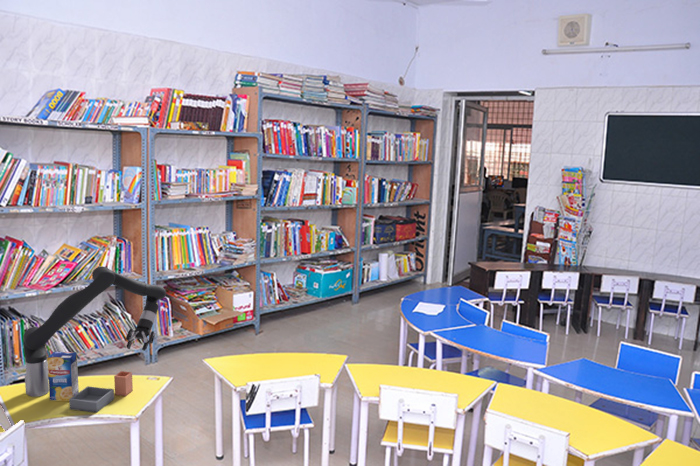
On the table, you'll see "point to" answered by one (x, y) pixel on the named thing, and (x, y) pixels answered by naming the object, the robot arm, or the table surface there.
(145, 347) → the robot arm
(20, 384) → the table surface
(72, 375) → the blue food box
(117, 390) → the orange square cup
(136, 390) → the table surface
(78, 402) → the charcoal crate
